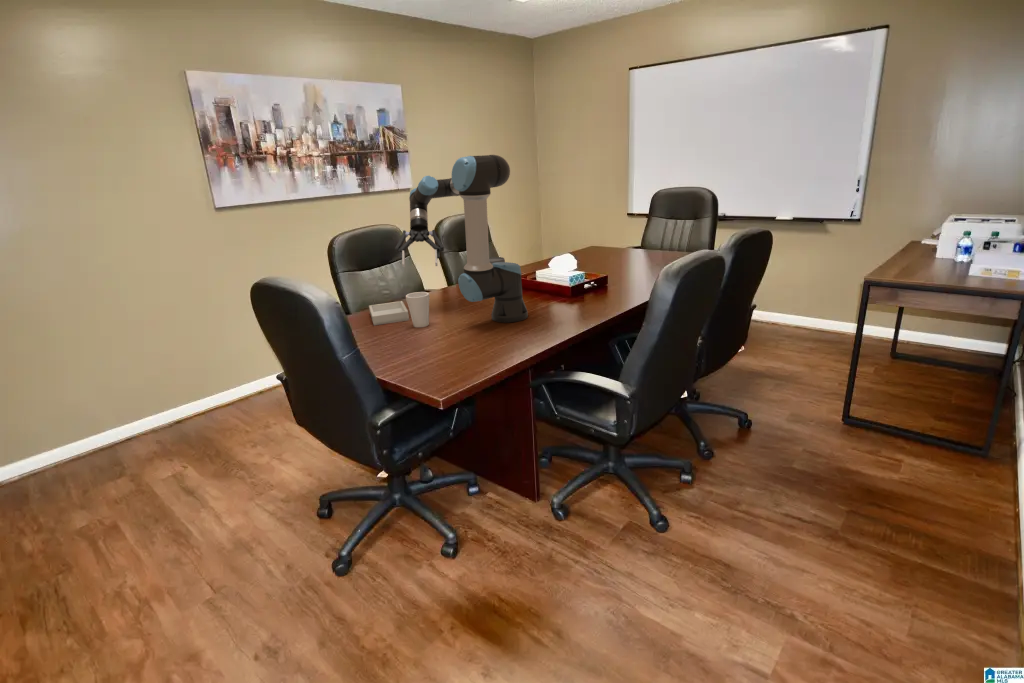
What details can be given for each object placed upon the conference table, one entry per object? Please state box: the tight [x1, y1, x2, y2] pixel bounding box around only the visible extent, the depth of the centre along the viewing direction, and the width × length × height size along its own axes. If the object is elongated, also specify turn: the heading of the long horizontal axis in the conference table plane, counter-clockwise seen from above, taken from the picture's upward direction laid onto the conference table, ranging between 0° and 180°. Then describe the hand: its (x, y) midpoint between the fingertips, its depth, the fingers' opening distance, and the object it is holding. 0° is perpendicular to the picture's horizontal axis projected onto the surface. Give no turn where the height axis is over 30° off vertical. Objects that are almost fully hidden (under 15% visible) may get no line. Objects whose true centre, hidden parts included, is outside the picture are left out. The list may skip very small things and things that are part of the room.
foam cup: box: [405, 291, 431, 328], centre depth 217 cm, size 10×9×13 cm
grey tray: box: [368, 300, 410, 326], centre depth 234 cm, size 20×15×4 cm
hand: (420, 265), depth 221 cm, fingers open, 13 cm apart
